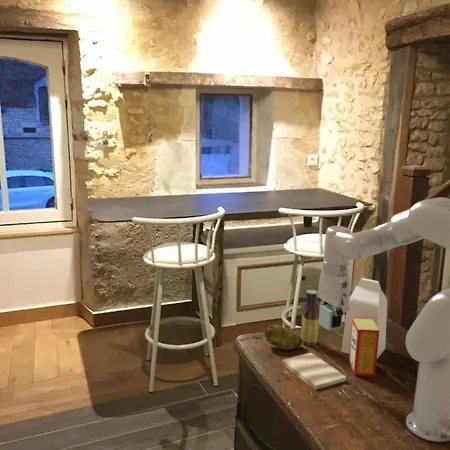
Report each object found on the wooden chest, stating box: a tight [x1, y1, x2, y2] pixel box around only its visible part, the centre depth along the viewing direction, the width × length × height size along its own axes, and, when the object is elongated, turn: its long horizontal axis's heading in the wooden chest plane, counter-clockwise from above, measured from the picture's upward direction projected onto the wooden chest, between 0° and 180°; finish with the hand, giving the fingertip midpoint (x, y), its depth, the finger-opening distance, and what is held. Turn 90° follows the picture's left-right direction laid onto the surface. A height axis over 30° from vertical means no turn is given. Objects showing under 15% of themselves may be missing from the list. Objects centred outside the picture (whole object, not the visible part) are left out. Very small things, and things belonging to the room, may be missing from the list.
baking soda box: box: [348, 318, 379, 377], centre depth 167 cm, size 10×6×16 cm
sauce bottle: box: [300, 289, 320, 347], centre depth 185 cm, size 6×6×20 cm
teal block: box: [318, 304, 344, 331], centre depth 159 cm, size 5×5×6 cm
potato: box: [264, 324, 303, 351], centre depth 182 cm, size 8×13×8 cm, turn 71°
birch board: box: [281, 352, 347, 391], centre depth 166 cm, size 18×12×2 cm, turn 28°
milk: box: [340, 277, 388, 359], centre depth 179 cm, size 12×12×26 cm
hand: (330, 322), depth 159 cm, fingers closed on teal block, 4 cm apart
